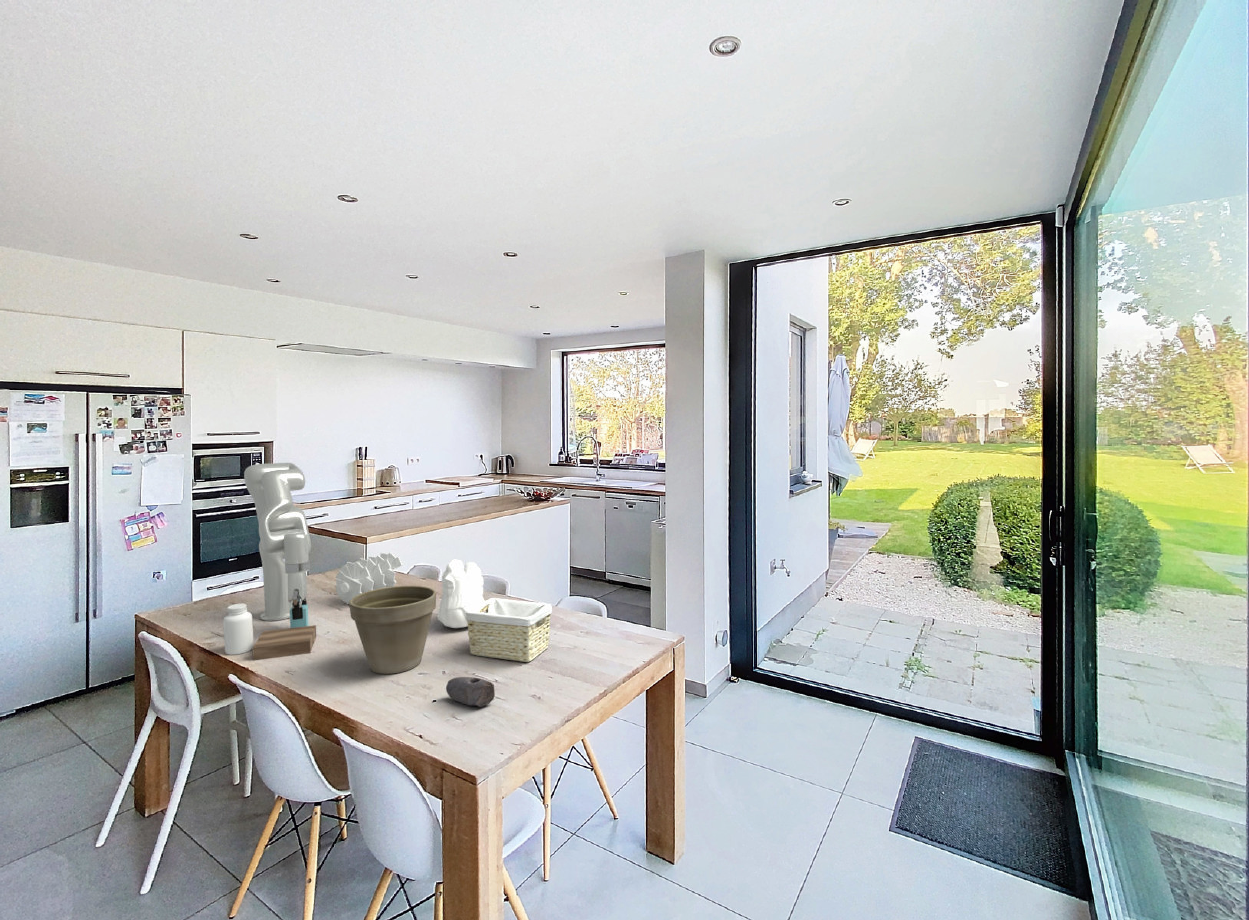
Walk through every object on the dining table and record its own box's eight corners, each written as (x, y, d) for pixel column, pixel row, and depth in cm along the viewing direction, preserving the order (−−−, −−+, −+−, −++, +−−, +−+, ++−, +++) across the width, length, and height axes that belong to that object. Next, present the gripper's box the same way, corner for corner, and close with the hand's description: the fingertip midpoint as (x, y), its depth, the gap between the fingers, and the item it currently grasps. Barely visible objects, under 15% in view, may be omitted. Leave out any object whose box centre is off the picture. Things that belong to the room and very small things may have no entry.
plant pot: (374, 648, 198) (372, 584, 196) (448, 649, 197) (447, 584, 195) (335, 681, 173) (332, 608, 171) (420, 682, 172) (418, 608, 171)
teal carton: (293, 630, 215) (291, 606, 214) (308, 629, 217) (307, 604, 216) (290, 635, 210) (289, 610, 210) (306, 633, 212) (305, 608, 212)
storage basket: (464, 655, 191) (462, 610, 190) (492, 638, 207) (491, 596, 206) (530, 666, 183) (529, 618, 182) (554, 647, 198) (553, 603, 197)
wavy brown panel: (263, 642, 204) (263, 631, 203) (316, 636, 209) (315, 625, 209) (253, 660, 189) (252, 648, 188) (310, 653, 194) (309, 641, 194)
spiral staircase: (338, 615, 245) (383, 595, 268) (366, 601, 238) (411, 582, 261) (320, 574, 246) (367, 557, 269) (348, 559, 239) (394, 543, 262)
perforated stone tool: (440, 701, 161) (439, 675, 160) (454, 693, 165) (453, 668, 165) (483, 713, 154) (483, 687, 153) (497, 704, 158) (496, 679, 158)
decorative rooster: (462, 636, 208) (460, 566, 206) (427, 630, 215) (425, 561, 213) (505, 615, 231) (504, 551, 229) (473, 609, 237) (471, 547, 236)
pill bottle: (223, 657, 191) (220, 611, 190) (226, 648, 199) (224, 604, 198) (252, 652, 195) (250, 607, 194) (254, 644, 202) (252, 600, 201)
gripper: (289, 564, 219) (291, 610, 219) (280, 573, 202) (283, 623, 203) (312, 561, 221) (314, 607, 222) (305, 571, 205) (308, 620, 206)
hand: (299, 615), depth 213 cm, fingers open, 9 cm apart
